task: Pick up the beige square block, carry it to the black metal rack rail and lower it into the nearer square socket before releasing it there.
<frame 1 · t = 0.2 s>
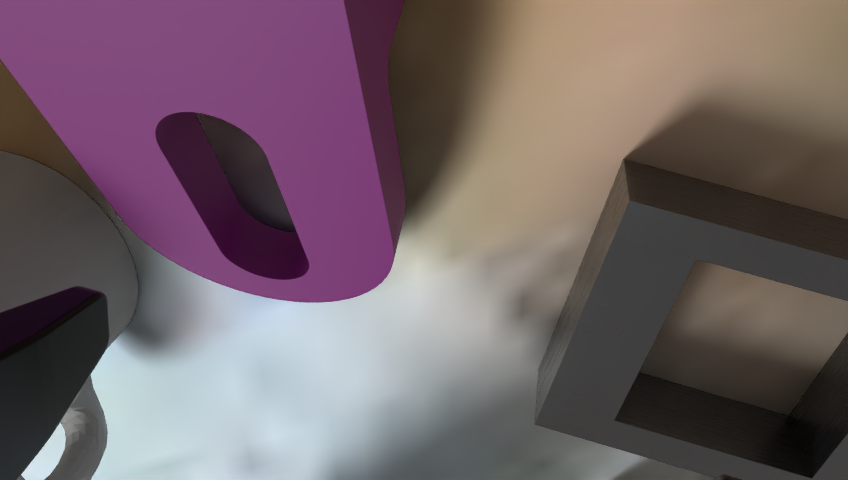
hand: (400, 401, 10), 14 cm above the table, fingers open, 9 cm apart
coffee mug: (53, 286, 30), on the table
mounting bracket: (282, 40, 23), on the table
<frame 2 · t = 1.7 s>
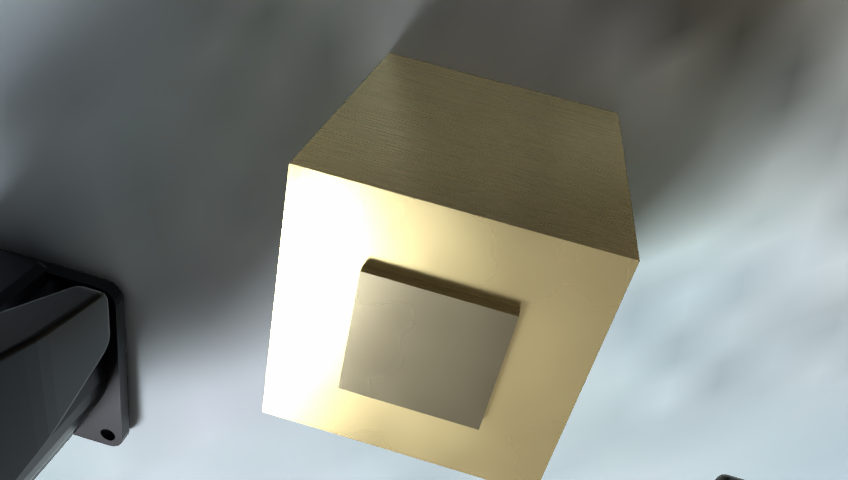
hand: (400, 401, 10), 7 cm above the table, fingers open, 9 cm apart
beige square block: (474, 184, 16), on the table
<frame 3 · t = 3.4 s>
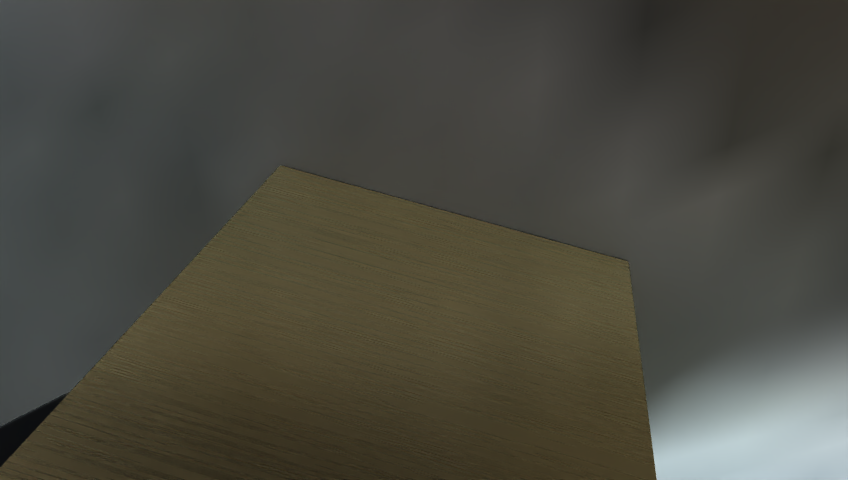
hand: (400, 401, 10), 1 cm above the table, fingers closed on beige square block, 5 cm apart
beige square block: (416, 347, 11), on the table, touching gripper
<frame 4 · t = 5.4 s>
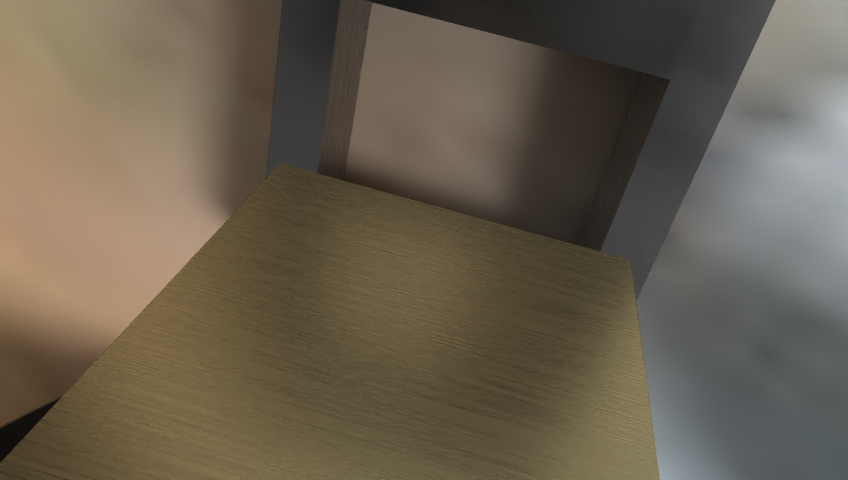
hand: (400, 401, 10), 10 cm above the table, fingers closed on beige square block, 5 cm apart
beige square block: (417, 346, 11), point 9 cm above the table, touching gripper
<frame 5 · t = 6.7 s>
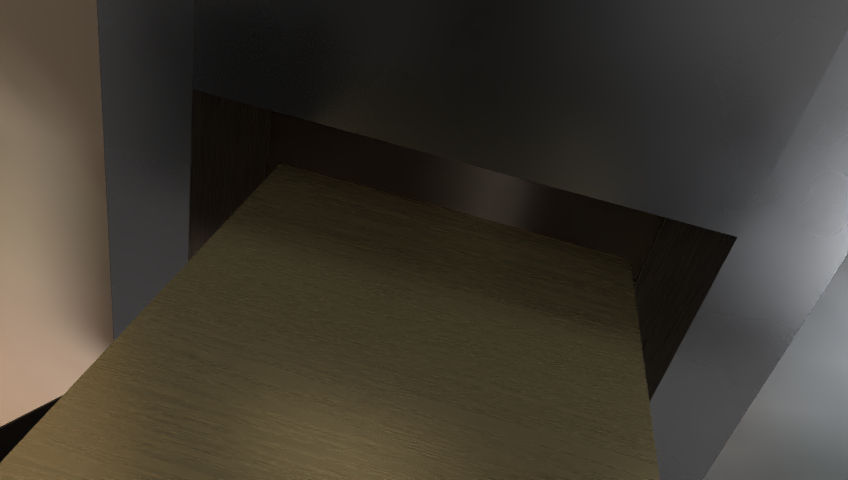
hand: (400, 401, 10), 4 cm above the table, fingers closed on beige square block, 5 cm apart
beige square block: (417, 346, 11), point 2 cm above the table, touching gripper
when the fingers open (3 cm above the table, at t = 7.6 s): beige square block drops 2 cm, resting in rack rail.
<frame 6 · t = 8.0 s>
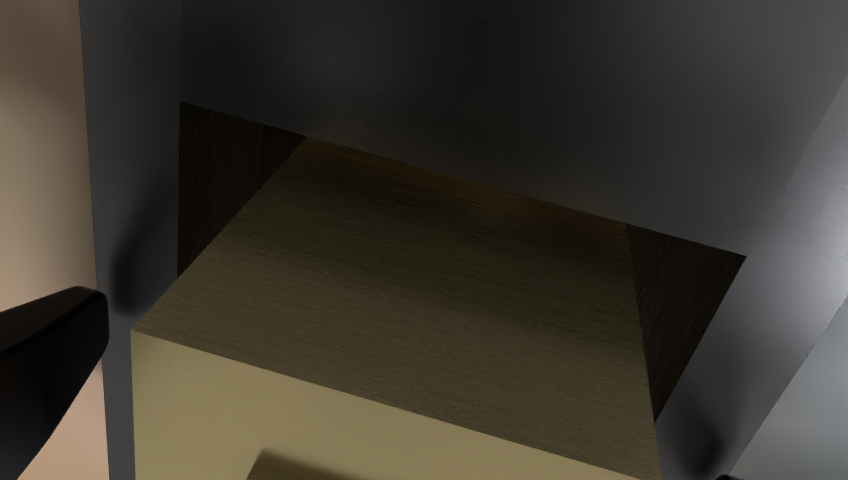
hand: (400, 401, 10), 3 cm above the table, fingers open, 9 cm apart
beige square block: (441, 273, 13), resting in rack rail
rack rail: (509, 0, 10), on the table
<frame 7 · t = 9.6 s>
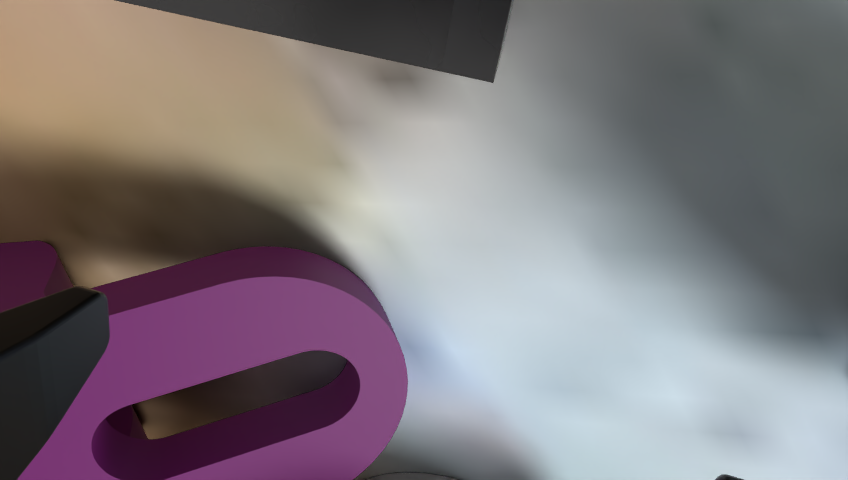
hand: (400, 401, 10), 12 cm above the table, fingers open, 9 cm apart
mounting bracket: (185, 332, 26), on the table
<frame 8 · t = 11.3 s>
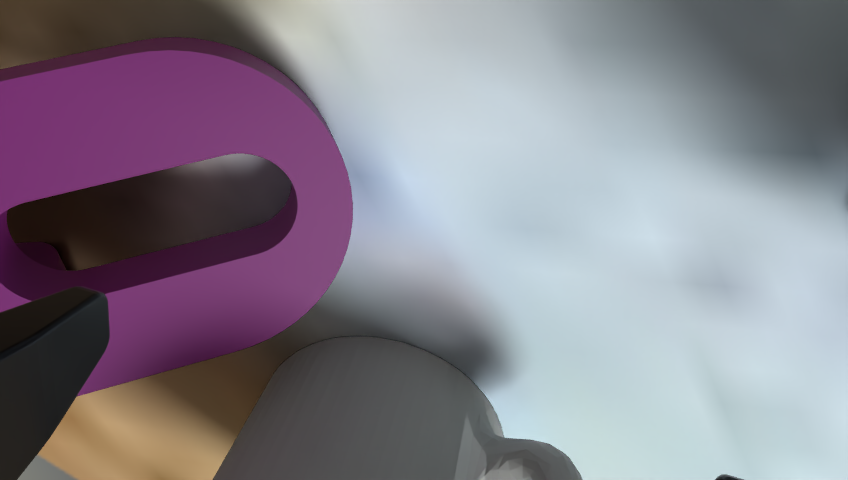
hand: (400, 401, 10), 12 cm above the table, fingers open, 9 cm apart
coffee mug: (423, 429, 27), on the table
mounting bracket: (117, 173, 24), on the table
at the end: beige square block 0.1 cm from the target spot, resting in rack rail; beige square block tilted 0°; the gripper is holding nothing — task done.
